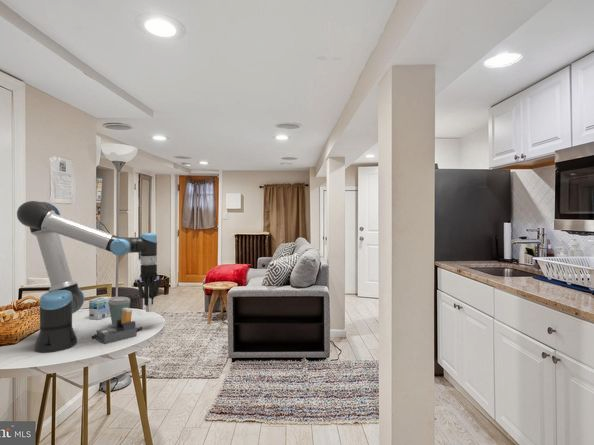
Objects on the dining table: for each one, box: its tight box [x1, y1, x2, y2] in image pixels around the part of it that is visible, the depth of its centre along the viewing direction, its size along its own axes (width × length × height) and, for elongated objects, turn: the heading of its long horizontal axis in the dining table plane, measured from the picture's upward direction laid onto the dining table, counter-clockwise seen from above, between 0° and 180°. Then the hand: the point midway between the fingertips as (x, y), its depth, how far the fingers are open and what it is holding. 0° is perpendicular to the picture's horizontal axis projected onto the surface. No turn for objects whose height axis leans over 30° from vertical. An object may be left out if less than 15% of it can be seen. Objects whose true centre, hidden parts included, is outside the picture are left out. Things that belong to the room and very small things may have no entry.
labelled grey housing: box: [95, 319, 138, 345], centre depth 166 cm, size 14×10×7 cm
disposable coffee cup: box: [108, 296, 131, 327], centre depth 184 cm, size 11×11×15 cm
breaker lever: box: [121, 307, 133, 326], centre depth 170 cm, size 2×6×8 cm, turn 48°
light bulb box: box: [88, 296, 113, 321], centre depth 203 cm, size 11×7×11 cm, turn 164°
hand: (148, 311), depth 178 cm, fingers closed
